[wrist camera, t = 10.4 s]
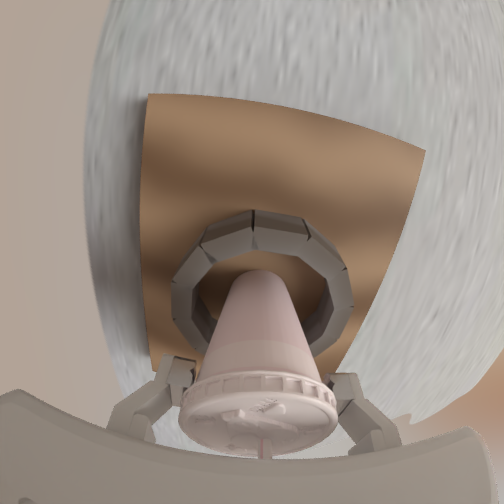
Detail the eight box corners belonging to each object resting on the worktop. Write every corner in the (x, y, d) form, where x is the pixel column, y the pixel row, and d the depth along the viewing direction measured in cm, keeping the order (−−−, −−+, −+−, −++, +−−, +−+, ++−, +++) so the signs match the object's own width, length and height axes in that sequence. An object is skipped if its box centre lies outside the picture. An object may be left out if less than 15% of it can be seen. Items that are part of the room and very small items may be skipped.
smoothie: (241, 341, 19) (229, 533, 7) (189, 277, 17) (116, 506, 4) (322, 307, 18) (371, 517, 5) (280, 231, 15) (322, 520, 3)
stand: (160, 96, 14) (128, 90, 10) (410, 146, 14) (450, 157, 10) (158, 355, 24) (145, 392, 20) (320, 376, 25) (326, 412, 21)
